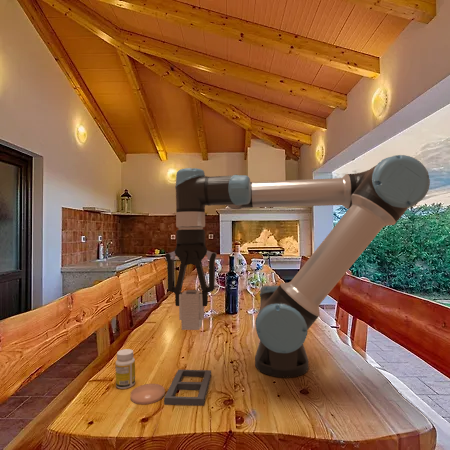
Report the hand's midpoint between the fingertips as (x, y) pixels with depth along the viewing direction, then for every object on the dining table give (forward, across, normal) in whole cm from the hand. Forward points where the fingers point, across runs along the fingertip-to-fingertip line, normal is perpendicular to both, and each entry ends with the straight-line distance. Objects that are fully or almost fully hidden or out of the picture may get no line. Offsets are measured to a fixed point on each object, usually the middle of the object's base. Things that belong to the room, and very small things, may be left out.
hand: (191, 318), depth 82 cm
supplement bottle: (+17, +17, +2) cm, 24 cm away
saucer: (+16, +10, +7) cm, 20 cm away
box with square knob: (+2, 0, 0) cm, 2 cm away
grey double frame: (+16, 0, +4) cm, 17 cm away
